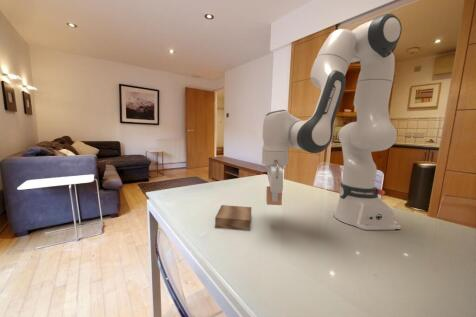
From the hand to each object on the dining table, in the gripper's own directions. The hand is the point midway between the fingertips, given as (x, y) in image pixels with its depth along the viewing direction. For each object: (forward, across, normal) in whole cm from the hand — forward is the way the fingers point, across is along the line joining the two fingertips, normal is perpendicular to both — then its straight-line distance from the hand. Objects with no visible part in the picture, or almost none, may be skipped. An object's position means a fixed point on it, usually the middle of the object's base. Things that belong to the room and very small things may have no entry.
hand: (273, 197), depth 72 cm
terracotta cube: (+2, 0, 0) cm, 2 cm away
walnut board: (+10, +2, +14) cm, 18 cm away
